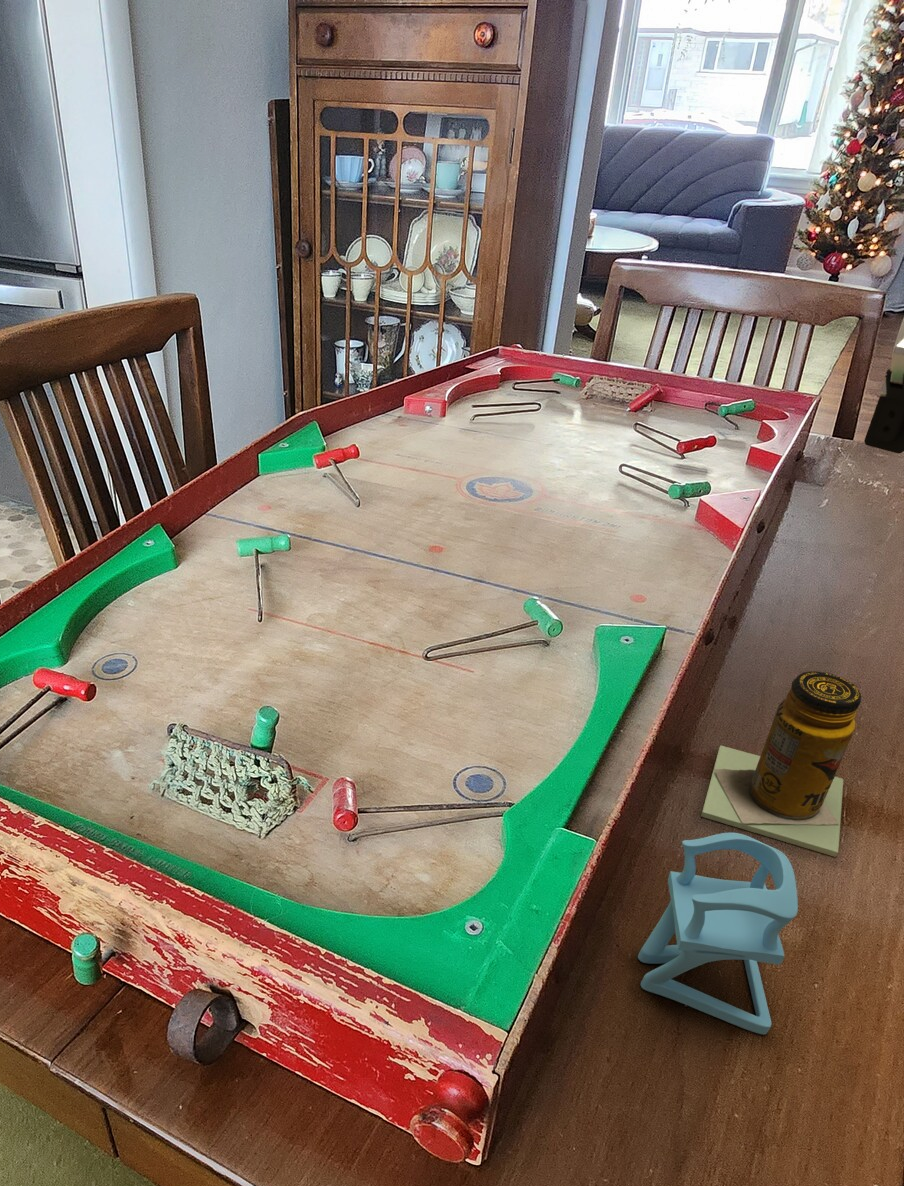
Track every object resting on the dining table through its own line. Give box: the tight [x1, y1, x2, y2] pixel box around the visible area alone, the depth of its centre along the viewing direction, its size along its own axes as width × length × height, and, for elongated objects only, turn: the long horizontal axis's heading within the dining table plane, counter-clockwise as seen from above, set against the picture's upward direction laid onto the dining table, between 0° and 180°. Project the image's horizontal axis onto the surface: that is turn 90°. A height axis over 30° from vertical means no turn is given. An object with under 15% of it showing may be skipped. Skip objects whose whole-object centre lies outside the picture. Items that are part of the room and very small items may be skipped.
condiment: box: [713, 670, 862, 825], centre depth 77 cm, size 7×8×12 cm
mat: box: [700, 745, 844, 858], centre depth 81 cm, size 11×11×1 cm
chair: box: [637, 832, 799, 1036], centre depth 61 cm, size 8×8×12 cm
